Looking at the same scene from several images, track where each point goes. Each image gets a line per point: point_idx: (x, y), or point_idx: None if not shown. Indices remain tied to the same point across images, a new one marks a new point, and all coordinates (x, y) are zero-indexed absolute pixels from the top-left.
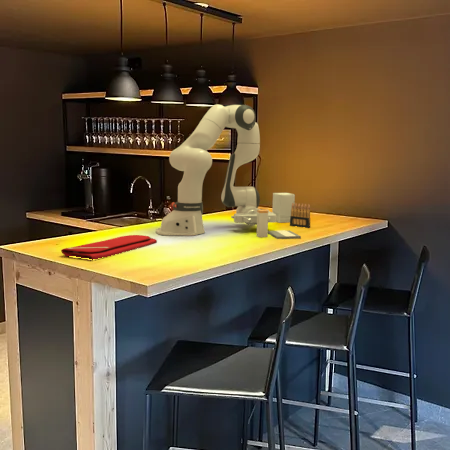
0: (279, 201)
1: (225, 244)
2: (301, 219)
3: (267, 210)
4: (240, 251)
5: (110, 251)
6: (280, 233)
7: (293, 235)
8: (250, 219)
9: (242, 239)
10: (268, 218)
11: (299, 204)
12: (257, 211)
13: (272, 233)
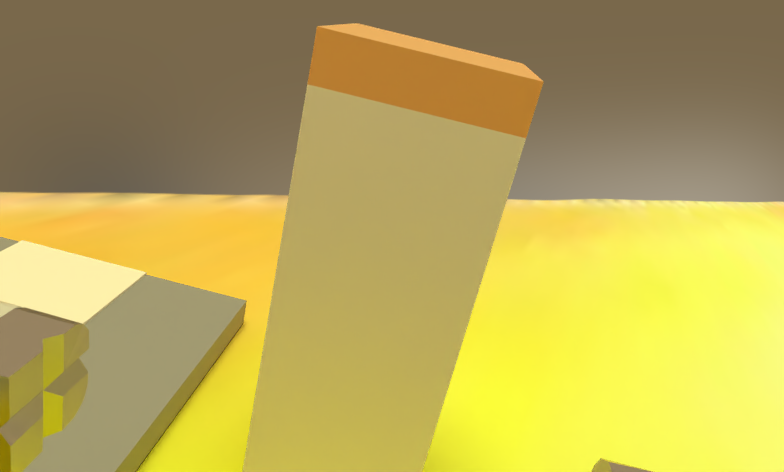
0: None
1: (779, 361)
2: None
3: (353, 24)
4: (648, 246)
5: None
6: None
7: (14, 261)
8: (607, 466)
9: (646, 442)
10: (42, 316)
11: None
12: (527, 120)
13: (121, 442)
